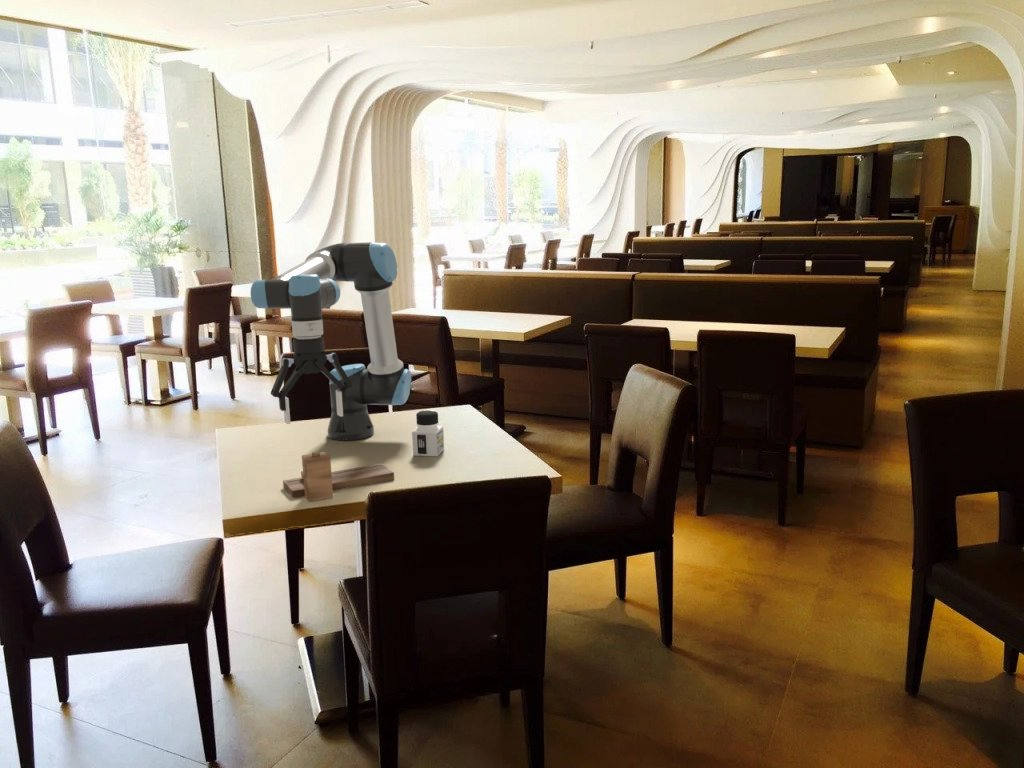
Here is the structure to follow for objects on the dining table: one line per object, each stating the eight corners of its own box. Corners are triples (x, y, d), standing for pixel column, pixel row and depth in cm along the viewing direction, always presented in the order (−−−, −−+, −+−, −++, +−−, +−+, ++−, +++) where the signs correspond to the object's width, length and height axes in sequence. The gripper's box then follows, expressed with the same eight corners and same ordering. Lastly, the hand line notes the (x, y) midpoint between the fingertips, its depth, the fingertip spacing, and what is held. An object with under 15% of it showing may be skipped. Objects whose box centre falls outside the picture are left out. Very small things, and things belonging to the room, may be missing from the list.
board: (283, 487, 221) (282, 480, 221) (381, 469, 235) (381, 462, 234) (293, 498, 213) (292, 490, 212) (394, 479, 226) (393, 472, 226)
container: (437, 456, 246) (435, 414, 244) (412, 455, 248) (410, 414, 245) (444, 449, 254) (442, 408, 251) (420, 448, 255) (418, 408, 253)
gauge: (295, 485, 222) (292, 444, 220) (317, 482, 225) (314, 440, 222) (310, 501, 210) (306, 457, 207) (333, 497, 213) (329, 453, 210)
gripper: (261, 343, 196) (268, 429, 200) (361, 333, 208) (366, 415, 212) (254, 339, 202) (261, 422, 206) (351, 330, 214) (356, 409, 218)
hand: (314, 419), depth 209 cm, fingers open, 13 cm apart
